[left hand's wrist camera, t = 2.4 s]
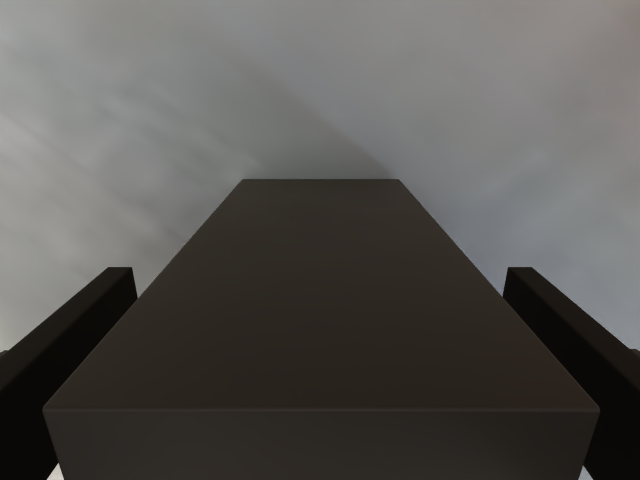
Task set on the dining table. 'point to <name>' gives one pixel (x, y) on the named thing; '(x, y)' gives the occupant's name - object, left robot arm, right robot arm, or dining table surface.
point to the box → (320, 356)
